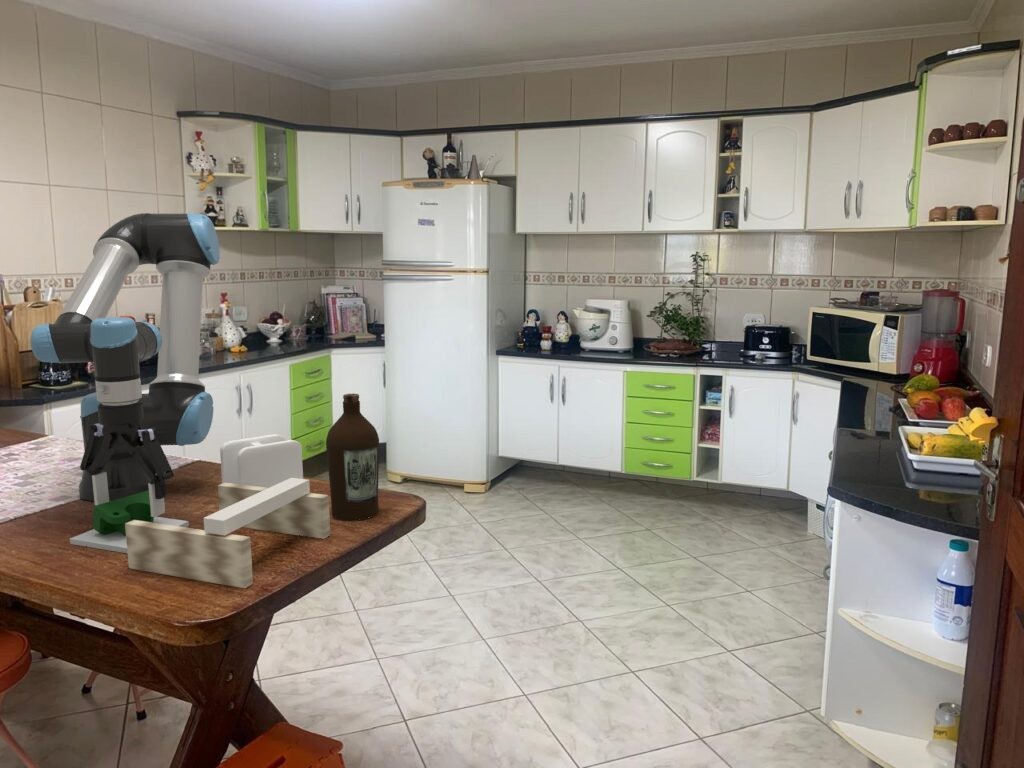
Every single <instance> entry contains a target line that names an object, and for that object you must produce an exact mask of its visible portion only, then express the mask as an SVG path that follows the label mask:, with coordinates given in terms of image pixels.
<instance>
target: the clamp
mask: <svg viewBox="0 0 1024 768" xmlns="http://www.w3.org/2000/svg"><path fill="white" fill-rule="evenodd" d="M164 504H165V500H164ZM133 520H139V521H146V522H152V523H153V521H154V517H151V509H150V497H149V490H148V491H145V492H141V493H138V494H134V495H131V496H127V497H124V498H120V499H117V500H113V501H109V502H106V503H103V504H99V505H96V506H95V505H93V518H92V528H93V529H94V530H96V531H97V532H99V533H100V534H101V535H107V534H110V533H113V532H116V531H119V532H120V533H122V534H123V535H125V536H126V530H125V523H128V522H130V521H133ZM93 529H92V530H93Z"/></svg>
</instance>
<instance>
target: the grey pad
mask: <svg viewBox="0 0 1024 768" xmlns="http://www.w3.org/2000/svg"><path fill="white" fill-rule="evenodd" d="M153 523H159V524H166V525H173V526H179V527H186V528H189V527H190V521H188V520H182V519H175V518H167V517H162V516H156V517H154V521H153ZM69 544H70V545H76V546H80V547H86V546H87V547H86V548H92V549H97V550H98V549H99V550H104V551H105V550H106V551H110V552H116V553H122V554H128V553H127V541H126V536H125V535H123V534H122V533H120V532H119V531H116V532H113V533H110V534H107V535H101V534H100V533H99V532H97V531H96V530H94V529H91V530H87V531H86V532H83V533H80V534H77V535H75V536H73V537H70V538H69Z"/></svg>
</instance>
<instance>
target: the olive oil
mask: <svg viewBox="0 0 1024 768" xmlns="http://www.w3.org/2000/svg"><path fill="white" fill-rule="evenodd" d="M342 399H343V401H342V409H343V411H342V414H341V416H339V418H338V419H337V420H336V422H334V423H333V425H332V426H331V427H330V429H329V430H328V433H327V435H326V441H325V448H326V449H325V450H326V457H327V471H328V477H329V480H328V481H329V488H330V489H329V491H330V506H331V515H332V517H333V518H334V519H336V518H337V520H339V519H340V520H339V521H345V520H357V521H360V520H359V519H364V520H366V519H365V518H368V517H371V516H373V515H375V514H376V513H377V512H378V513H379V469H380V468H379V465H380V464H379V462H380V438H379V437H380V436H379V434H378V431H377V429H376V428H375V426H374V425H373V424H372V423H371V422H370V421H369V420H368V419H367V418H366V417H365V416H364V415H363V414H362V413H361V401H360V395H359V394H358V393H346V394H343V395H342ZM378 513H377V514H378ZM377 514H376V515H377ZM376 515H375V516H376ZM373 517H374V516H373ZM371 518H372V517H371ZM368 519H369V518H368Z"/></svg>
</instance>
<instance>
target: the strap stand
mask: <svg viewBox="0 0 1024 768" xmlns="http://www.w3.org/2000/svg"><path fill="white" fill-rule="evenodd" d="M266 489H268V488H265V487H257V486H249V485H240V484H232V483H222V482H221V483H220V484H218V485H217V497H218V511H220V510H222V509H224V508H226V507H228V506H231V505H233V504H235V503H237V502H239V501H242V500H244V499H246V498H248V497H250V496H252V495H255V494H257V493H259V492H261V491H263V490H266ZM330 523H331V522H330V496H329V495H328V494H321V493H314V492H313V493H312V492H310V493H308V494H306V495H304V496H302V497H300V498H298V499H296V500H294V501H292V502H290V503H288V504H286V505H284V506H282V507H280V508H278V509H276V510H274V511H272V512H270V513H268V514H266V515H264V516H262V517H260V518H258V519H256V520H254V521H252V522H250V523H248V524H246V525H244V526H242V527H241V528H246V529H252V530H259V531H265V532H272V533H273V532H274V533H278V534H279V533H281V534H287V535H294V536H299V535H300V537H306V536H307V537H308V538H313V537H314V538H315V539H320V538H321V540H322V539H323V540H326V539H327V538H329V537H330V536H331V525H330ZM125 530H126V541H127V553H126V554H127V561H128V569H132V570H138V571H143V572H148V573H153V574H154V573H155V574H161V575H166V576H171V577H177V578H183V579H188V580H194V581H200V582H207V583H212V584H218V585H224V586H229V587H233V588H234V587H236V588H240V589H246V588H249V587H250V586H251V585H253V584H254V581H253V580H254V577H253V576H254V575H253V561H252V546H251V545H252V544H251V543H252V542H251V537H250V536H245V535H239V534H232V533H229V534H227V535H225V536H224V535H218V534H211V533H205V532H204V529H199V528H192V527H179V526H173V525H166V524H159V523H152V522H146V521H139V520H133V521H130V522H128V523H125ZM328 536H329V537H328ZM314 538H313V539H314Z"/></svg>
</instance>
